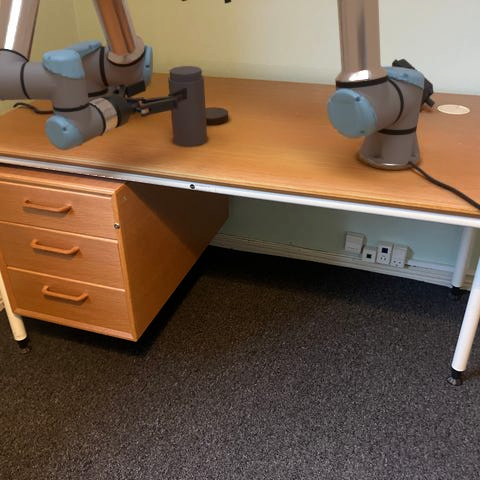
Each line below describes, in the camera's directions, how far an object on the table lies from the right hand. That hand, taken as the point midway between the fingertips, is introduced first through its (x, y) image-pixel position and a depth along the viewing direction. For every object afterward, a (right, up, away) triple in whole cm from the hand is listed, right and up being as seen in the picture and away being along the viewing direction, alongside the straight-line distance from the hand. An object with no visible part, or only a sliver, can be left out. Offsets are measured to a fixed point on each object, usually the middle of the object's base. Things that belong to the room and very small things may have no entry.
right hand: (206, 1), depth 149 cm
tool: (+63, -23, +25) cm, 71 cm away
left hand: (-10, -28, -12) cm, 32 cm away
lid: (+1, -27, +17) cm, 32 cm away
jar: (-5, -38, +4) cm, 39 cm away
